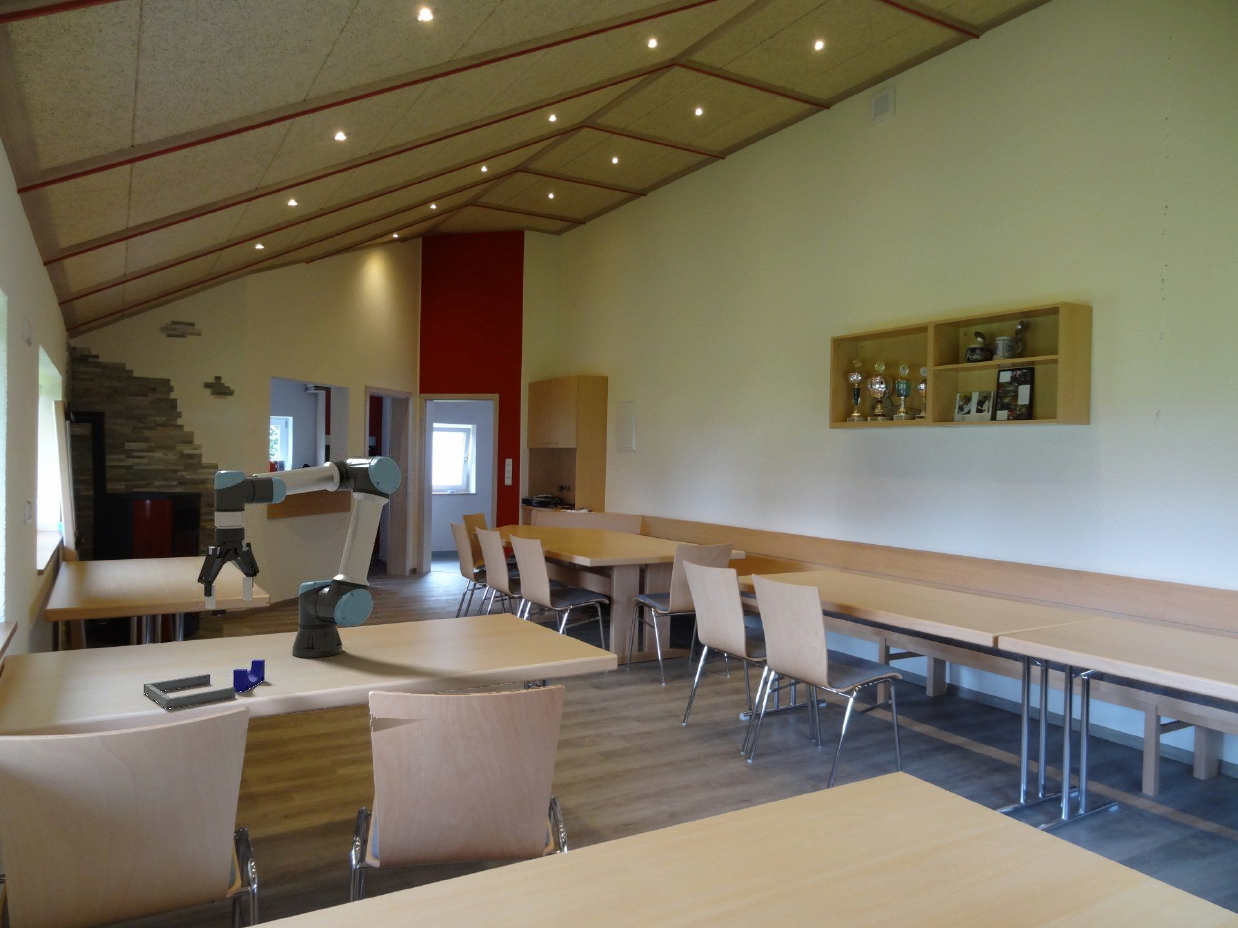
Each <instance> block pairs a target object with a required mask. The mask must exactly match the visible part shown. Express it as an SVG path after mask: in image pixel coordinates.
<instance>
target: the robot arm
mask: <svg viewBox="0 0 1238 928" xmlns="http://www.w3.org/2000/svg"><path fill="white" fill-rule="evenodd" d="M401 483H402V472H401V469H400V467H399V466H398V463H397V462H396V461H394V459H392V458H390V457H388V456H379V455H376V456H361V455H360V456H359V455H358V456H352V457H348V458H342V459H338V460H334V461H326V462H325V463H323V465H319V466H312V467H304V468H295V469H294V468H293V469H287V470H279V471H271V472H264V473H255V474H249V475H246V474H245V471H243V470H219V471H217V472H216V473H215V474H214V483H213V484H214V486H213V489H214V526H215V528H214V535H213V536H214V538H213V539H214V542H216V546H208V547H207V549H206V555H205V559H204V561H203V564H202V566H201V568H200V571H199V575H198V578H197V580H196V581H197V583H198V584H199V583H200V584H201V585H203V596H204V599H205V601H204V602H205V605H204V606H205V609H206V610H207V609H209V610H216V608H217V607H216V606H217V604H216V603H217V601H216V600H217V590H216V589H217V584H216V583H215V582H216V579H217V577H218V576H219V574H220V572H221V570H222V569H223V568H224V566H225V564H227V563H228V562H231V561H232V562H233V561H234V562H235V563H236V565H237V566H238V568H239V569H240V570H241V572H242V573H243V575H244V576H242V601H253V588H254V578H257V576H258V574H259V573H260V569H259V566H258V564H257V561H256V558H255V555H254V552H253V550H252V549H253V548H252V542H247V541H246V542H245V540H246V539H245V538H246V537H245V536H246V535H245V534H246V532H245V531H246V529H245V527H243V526H245V524H246V508H245V507H246V505H264V504H265V505H266V504H267V505H268V504H269V505H270V504H271V505H273V504H278V503H282V502H283V501H284V500H285V498H286V496H289V495H294V494H295V495H297V494H301V493H302V494H303V493H309V492H316V491H321V490H323V491H324V490H327V492H328V491H329V492H336V491H346V492H347V491H348V492H352V493H351V494H352V496H353V498H354V499H355V503H354V505H353V510H352V515H351V518H350V522H349V527H348V532H347V535H346V541H345V546H344V548H343V553H342V555H341V556H342V557H341V561H340V565H339V569H338V574H336V575H335V576H334V577H332V578H331V579H327V580H324V579H323V580H316V581H307V582H302V583H301V584H300V585H299V589H298V595H297V596H298V629H297V634H296V635H295V639H294V641H293V645H292V648H291V649H292V650H291V653H292V654H291V655H292V656H294V657H299V658H307V659H308V658H309V659H310V658H314V659H315V658H323V657H324V658H326V657H331V656H336V655H339V654H342V652H343V642H342V639H341V636H340V632H339V629H338V625H339V626H341V627H355V626H356V627H357V626H359V625H361V624H362V623H364V622H365V621H367V619H368V618H369V617H370V615H371V613H372V611H373V607H374V599H373V598H372V594H371V593H370V592H369V590H370V587H371V586H370V583H369V581H368V580H367V577H368V573H369V569H370V564H371V559H372V555H373V551H374V546H375V542H376V537H377V533H378V528H379V525H380V520H381V515H382V510H383V508H384V507H383V506H384V505H385V504H387V503H388V502H389V501H390V497H391V495H392V494H393V493H394V492H395V491H396V490H398V489H399V487H400V485H401Z"/></svg>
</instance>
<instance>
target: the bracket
mask: <svg viewBox="0 0 1238 928" xmlns="http://www.w3.org/2000/svg"><path fill="white" fill-rule="evenodd" d="M210 684H211V674H209V673H206V674H201V675H194V676H193V675H192V676H187V677H181V678H174V679H169V680H162V681H156V682H149V683H143V694H144V693H145V694H147V695H148V696H149V697H150V698H152V699H154V700H155V701H157V702H158V703H159V704H160V705H162V706H163V707H164V709H165V708H166V709H169V708H175V709H178V708H177V707H181V708H184V707H183V706H186V707H189V706H188V705H192V706H196V704H197V705H202V703H203V704H207V703H212V702H213V701H214V702H219V701H223V699H225V700H229V698H230V699H235V698H236V692H235V688H234V687H233V686H232V687H231V686H230V687H225V688H221V689H214V690H208V691H202V692H196V693H191V694H185V695H180V696H174V697H170V696H169V695H167V693H164V692H161V691H165V690H171V691H174V690H173V689H176V690H179V689H178V688H182V689H187V687H188V688H193V687H199V686H206V685H210ZM165 692H166V691H165ZM145 694H144V695H145ZM149 697H148V698H149ZM150 698H149V699H150ZM152 699H151V700H152ZM155 701H154V702H155ZM214 702H213V703H214ZM158 703H157V704H158ZM159 704H158V705H159ZM160 705H159V706H160ZM162 706H161V707H162ZM163 707H162V708H163ZM166 709H165V710H166Z"/></svg>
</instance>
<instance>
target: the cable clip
mask: <svg viewBox="0 0 1238 928" xmlns="http://www.w3.org/2000/svg"><path fill="white" fill-rule="evenodd" d="M265 662H266V660H265V659H253V660H251V664H250V665H251V666H250V669H248V668H235V669H233V673H232V675H233V679H232V685H233V686H232V687H234V688H235V693H246V692H247V691H246V690H248V689H249V688H251V689H252V687H253V686H254V687H256V686H258V685H259V684H258V683H260V682H261V681H263V682H265V681H266V680H265V678H266V677H265V676H266V675H265V674H266V673H265V672H266V671H265V670H266V669H265V665H266V663H265ZM264 680H265V681H264ZM261 683H262V682H261ZM261 683H260V684H261ZM257 684H258V685H257ZM255 685H256V686H255ZM254 687H253V688H254ZM249 690H250V689H249ZM249 690H248V691H249ZM240 691H242V692H240ZM245 691H246V692H245Z"/></svg>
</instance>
